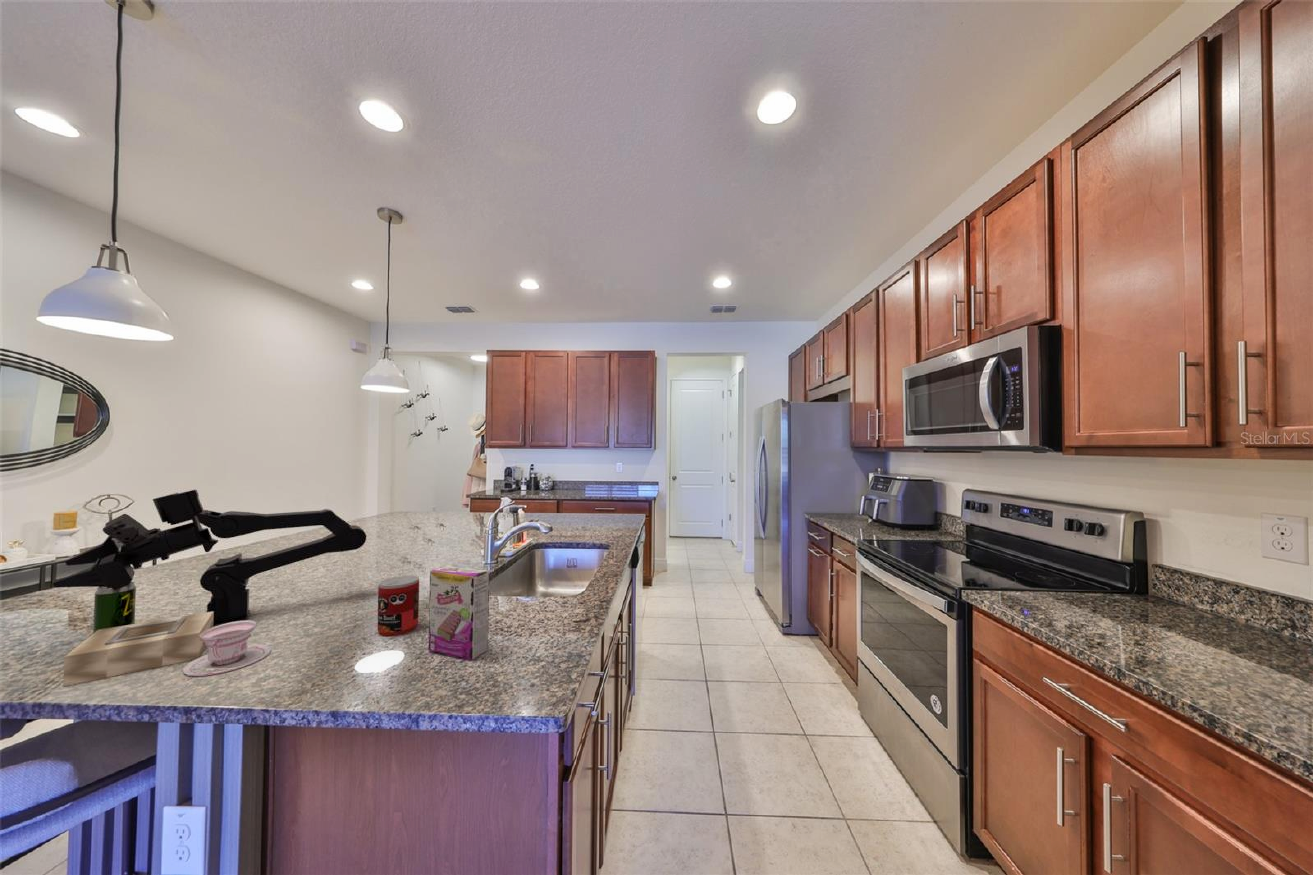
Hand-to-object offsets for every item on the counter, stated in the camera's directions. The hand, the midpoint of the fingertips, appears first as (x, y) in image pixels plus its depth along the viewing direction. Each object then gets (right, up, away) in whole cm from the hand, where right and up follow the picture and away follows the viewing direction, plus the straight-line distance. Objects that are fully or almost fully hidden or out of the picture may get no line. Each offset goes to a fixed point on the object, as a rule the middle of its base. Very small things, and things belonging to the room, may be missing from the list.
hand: (60, 573), depth 87 cm
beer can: (+8, -16, +3) cm, 17 cm away
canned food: (+63, -16, +10) cm, 65 cm away
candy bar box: (+81, -16, -1) cm, 83 cm away
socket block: (+22, -15, -3) cm, 27 cm away
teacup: (+39, -16, -5) cm, 42 cm away
